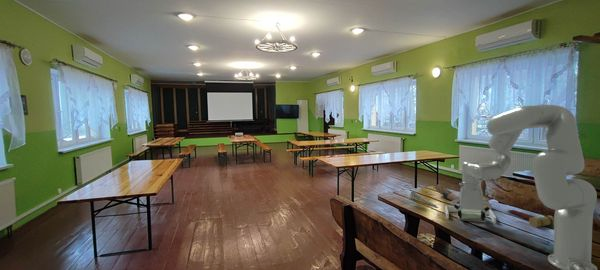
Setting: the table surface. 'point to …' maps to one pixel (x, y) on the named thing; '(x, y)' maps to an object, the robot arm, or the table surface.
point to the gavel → (534, 219)
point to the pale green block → (471, 216)
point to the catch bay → (453, 209)
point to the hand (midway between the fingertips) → (471, 218)
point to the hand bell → (483, 187)
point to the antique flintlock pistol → (445, 192)
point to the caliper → (421, 199)
